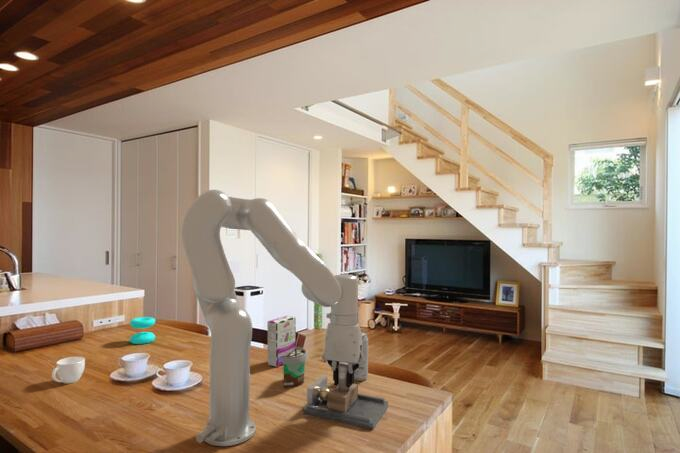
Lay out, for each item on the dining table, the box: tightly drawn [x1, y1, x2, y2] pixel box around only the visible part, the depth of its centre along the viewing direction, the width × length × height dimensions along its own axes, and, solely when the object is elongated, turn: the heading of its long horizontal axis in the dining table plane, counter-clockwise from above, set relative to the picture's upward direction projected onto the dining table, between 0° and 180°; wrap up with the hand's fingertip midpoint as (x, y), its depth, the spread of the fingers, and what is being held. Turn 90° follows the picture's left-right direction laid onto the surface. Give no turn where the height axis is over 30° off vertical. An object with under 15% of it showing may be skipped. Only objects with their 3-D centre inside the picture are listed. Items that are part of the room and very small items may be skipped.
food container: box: [282, 346, 309, 389], centre depth 131 cm, size 12×6×10 cm, turn 168°
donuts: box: [129, 316, 156, 345], centre depth 175 cm, size 10×10×10 cm
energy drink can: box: [354, 331, 369, 382], centre depth 136 cm, size 6×6×15 cm
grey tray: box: [302, 375, 389, 430], centre depth 112 cm, size 14×20×6 cm
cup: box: [51, 356, 86, 384], centre depth 130 cm, size 8×10×7 cm
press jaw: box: [328, 362, 359, 412], centre depth 112 cm, size 10×5×11 cm, turn 157°
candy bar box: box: [267, 315, 297, 368], centre depth 151 cm, size 11×5×16 cm, turn 148°
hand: (343, 384), depth 112 cm, fingers closed on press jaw, 3 cm apart
